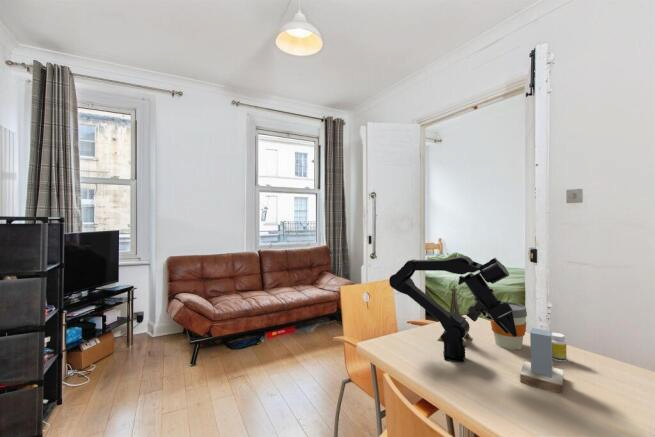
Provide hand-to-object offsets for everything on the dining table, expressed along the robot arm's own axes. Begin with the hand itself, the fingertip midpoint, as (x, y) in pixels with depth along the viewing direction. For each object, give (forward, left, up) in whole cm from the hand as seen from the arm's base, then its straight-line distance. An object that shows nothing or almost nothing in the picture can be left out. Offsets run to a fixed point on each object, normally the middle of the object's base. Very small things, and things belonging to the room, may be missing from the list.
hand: (511, 334), depth 96 cm
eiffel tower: (-15, +23, -12) cm, 30 cm away
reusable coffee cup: (+4, +23, -12) cm, 27 cm away
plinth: (+7, -3, -12) cm, 14 cm away
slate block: (+7, -3, -10) cm, 12 cm away
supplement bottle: (+17, +14, -12) cm, 26 cm away
